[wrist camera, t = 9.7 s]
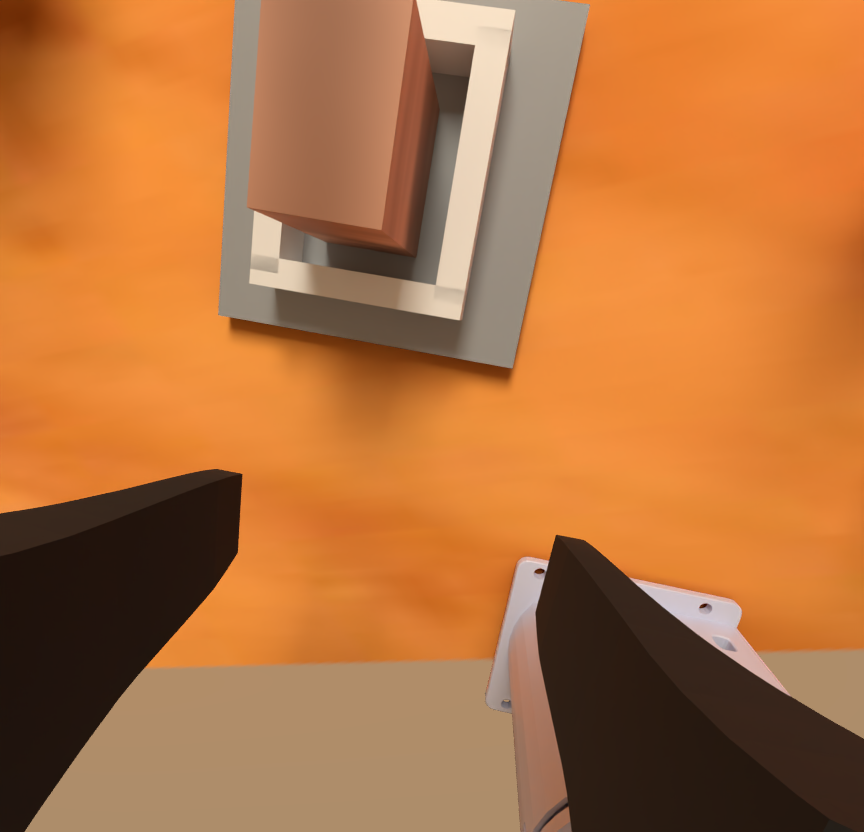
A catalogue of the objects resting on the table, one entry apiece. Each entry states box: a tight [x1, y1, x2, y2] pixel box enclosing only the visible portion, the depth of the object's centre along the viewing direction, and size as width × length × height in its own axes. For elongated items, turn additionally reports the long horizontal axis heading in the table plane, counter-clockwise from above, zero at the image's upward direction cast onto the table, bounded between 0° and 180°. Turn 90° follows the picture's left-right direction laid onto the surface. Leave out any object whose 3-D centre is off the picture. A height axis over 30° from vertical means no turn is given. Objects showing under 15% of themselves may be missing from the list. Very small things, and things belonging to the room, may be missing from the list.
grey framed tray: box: [218, 0, 590, 368], centre depth 16 cm, size 12×12×3 cm
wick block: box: [247, 0, 440, 258], centre depth 14 cm, size 4×5×6 cm
